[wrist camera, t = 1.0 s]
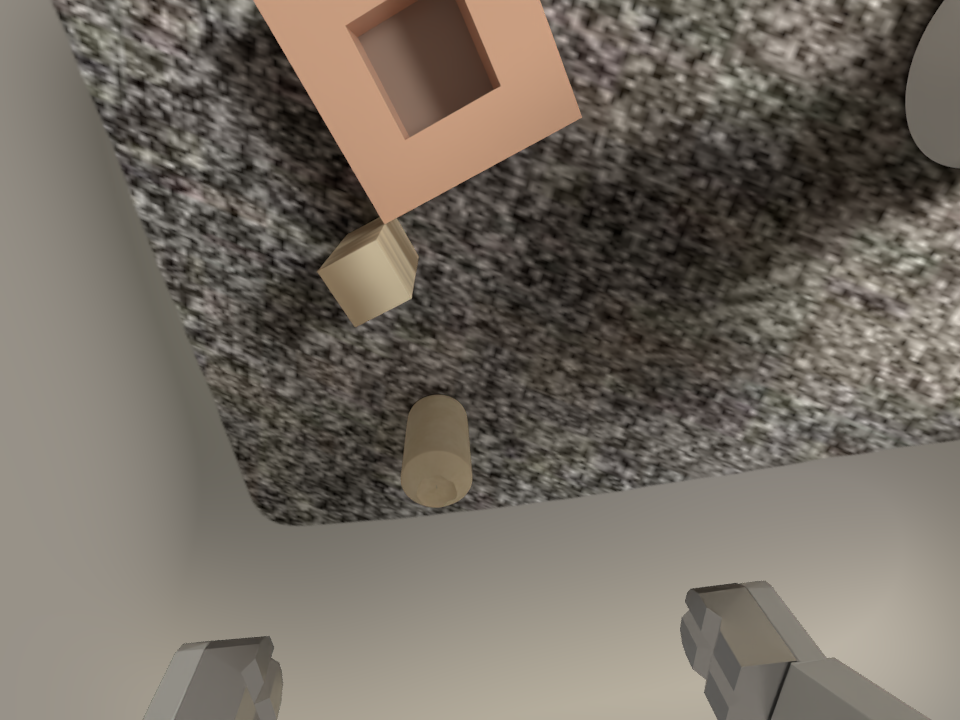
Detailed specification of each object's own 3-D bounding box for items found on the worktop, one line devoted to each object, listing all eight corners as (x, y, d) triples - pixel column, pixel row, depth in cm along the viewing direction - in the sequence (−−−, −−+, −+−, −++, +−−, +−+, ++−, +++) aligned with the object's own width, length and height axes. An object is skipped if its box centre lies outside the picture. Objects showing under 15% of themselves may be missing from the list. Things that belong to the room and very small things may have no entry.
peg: (392, 210, 37) (376, 239, 28) (418, 256, 39) (411, 298, 30) (346, 234, 38) (317, 271, 29) (374, 279, 40) (355, 327, 31)
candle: (417, 386, 44) (411, 455, 35) (475, 402, 45) (484, 473, 36) (400, 435, 46) (390, 512, 37) (456, 449, 47) (459, 527, 38)
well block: (473, -119, 29) (479, -166, 24) (562, 117, 35) (582, 117, 30) (276, 7, 31) (245, -13, 26) (392, 210, 37) (384, 224, 32)
